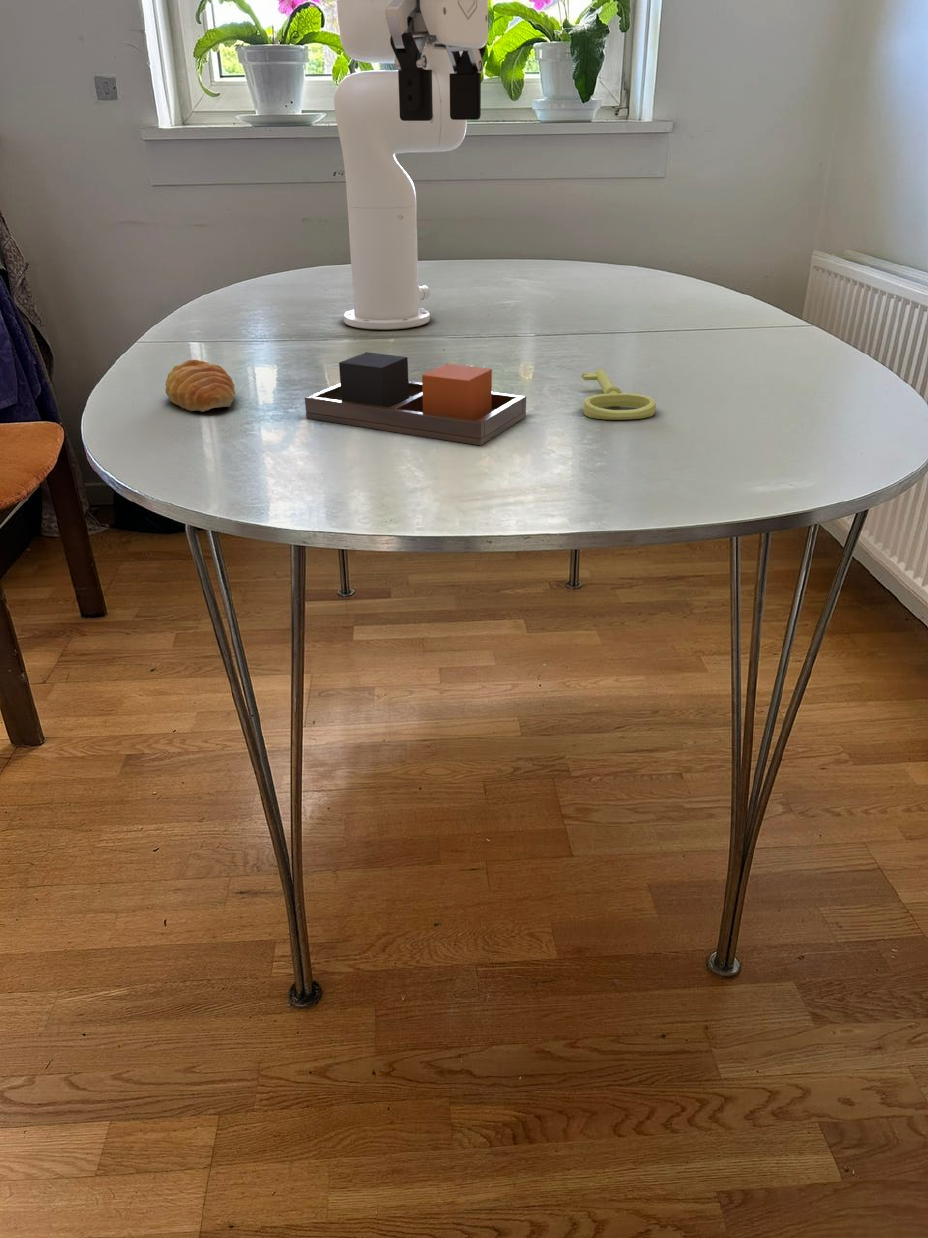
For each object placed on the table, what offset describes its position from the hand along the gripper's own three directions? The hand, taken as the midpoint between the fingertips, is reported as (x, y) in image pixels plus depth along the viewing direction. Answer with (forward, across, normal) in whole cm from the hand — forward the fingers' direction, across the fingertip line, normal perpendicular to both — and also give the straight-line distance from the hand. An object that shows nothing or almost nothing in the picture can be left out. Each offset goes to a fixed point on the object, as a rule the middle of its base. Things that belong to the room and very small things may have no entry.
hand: (441, 119), depth 88 cm
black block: (+25, -10, +3) cm, 27 cm away
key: (+26, +3, -18) cm, 32 cm away
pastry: (+26, -15, +21) cm, 37 cm away
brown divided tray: (+26, -10, -2) cm, 28 cm away
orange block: (+26, -10, -7) cm, 28 cm away
